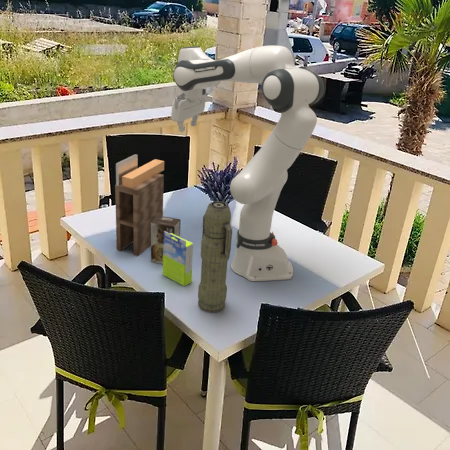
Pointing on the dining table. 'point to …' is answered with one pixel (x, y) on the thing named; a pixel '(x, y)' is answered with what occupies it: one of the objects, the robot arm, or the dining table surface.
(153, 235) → the coffee box
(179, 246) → the box
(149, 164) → the orange rectangular bar
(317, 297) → the dining table surface
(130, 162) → the bookend
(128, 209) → the shelf
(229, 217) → the thermos
